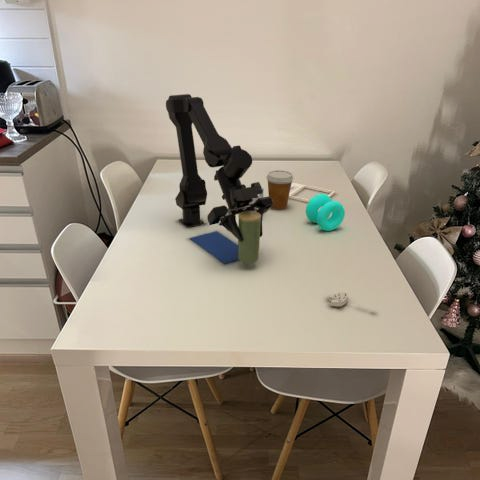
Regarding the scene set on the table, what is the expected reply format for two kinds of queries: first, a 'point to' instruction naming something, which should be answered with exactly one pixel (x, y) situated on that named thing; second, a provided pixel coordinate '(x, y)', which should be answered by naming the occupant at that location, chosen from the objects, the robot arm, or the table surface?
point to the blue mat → (218, 246)
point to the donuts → (325, 212)
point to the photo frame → (297, 187)
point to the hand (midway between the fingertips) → (251, 238)
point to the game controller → (339, 299)
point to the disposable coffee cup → (279, 188)
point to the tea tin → (249, 236)
